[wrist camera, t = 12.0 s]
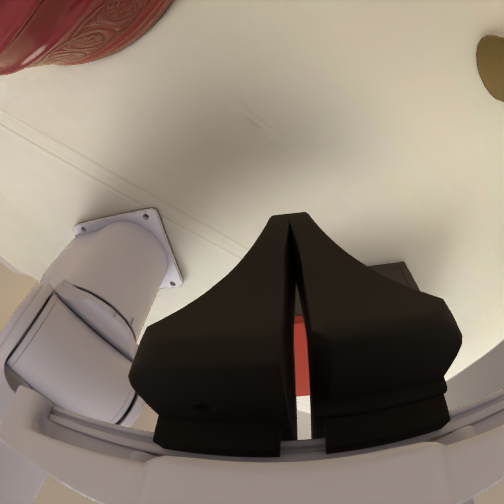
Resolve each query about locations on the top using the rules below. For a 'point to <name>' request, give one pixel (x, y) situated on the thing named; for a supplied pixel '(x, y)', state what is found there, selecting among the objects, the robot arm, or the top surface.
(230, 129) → the top surface
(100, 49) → the kitchen canister
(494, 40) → the olive brown oblong piece
